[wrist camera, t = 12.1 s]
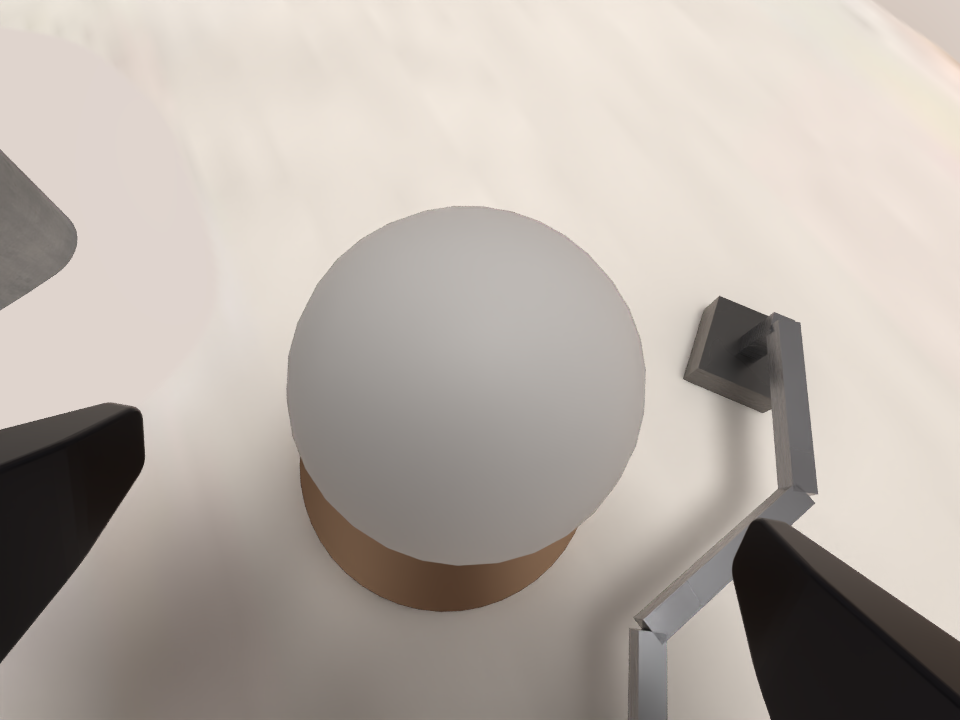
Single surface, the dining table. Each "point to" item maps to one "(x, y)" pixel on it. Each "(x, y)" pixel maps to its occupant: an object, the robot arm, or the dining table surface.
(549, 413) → the lightbulb
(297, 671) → the dining table surface
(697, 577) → the grey metal bracket
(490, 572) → the walnut coaster
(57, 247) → the hip flask
